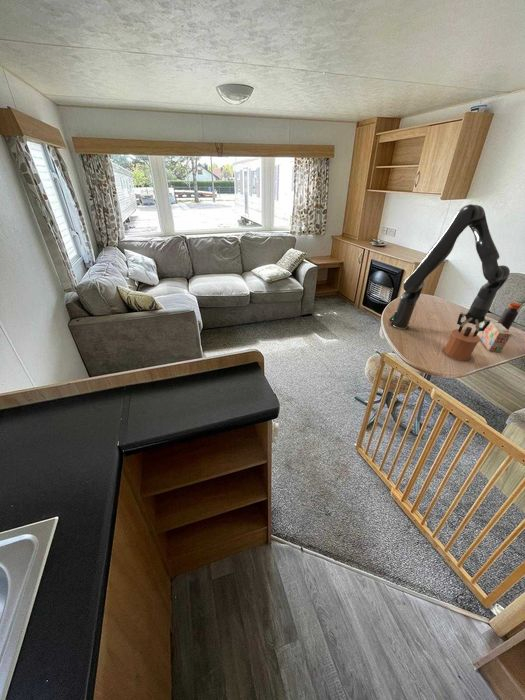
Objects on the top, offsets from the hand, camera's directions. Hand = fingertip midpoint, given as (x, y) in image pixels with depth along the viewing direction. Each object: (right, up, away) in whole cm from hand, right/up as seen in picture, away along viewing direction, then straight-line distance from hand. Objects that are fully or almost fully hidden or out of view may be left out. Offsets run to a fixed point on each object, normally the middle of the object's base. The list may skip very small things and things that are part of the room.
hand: (466, 334), depth 154 cm
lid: (0, -1, +1) cm, 1 cm away
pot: (0, -11, +8) cm, 13 cm away
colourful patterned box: (+26, -4, +20) cm, 33 cm away
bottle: (+42, +2, +30) cm, 52 cm away
